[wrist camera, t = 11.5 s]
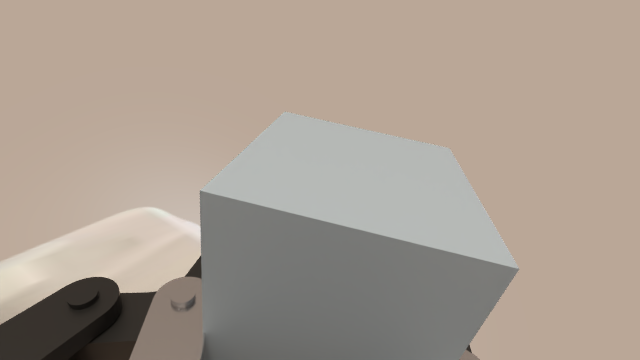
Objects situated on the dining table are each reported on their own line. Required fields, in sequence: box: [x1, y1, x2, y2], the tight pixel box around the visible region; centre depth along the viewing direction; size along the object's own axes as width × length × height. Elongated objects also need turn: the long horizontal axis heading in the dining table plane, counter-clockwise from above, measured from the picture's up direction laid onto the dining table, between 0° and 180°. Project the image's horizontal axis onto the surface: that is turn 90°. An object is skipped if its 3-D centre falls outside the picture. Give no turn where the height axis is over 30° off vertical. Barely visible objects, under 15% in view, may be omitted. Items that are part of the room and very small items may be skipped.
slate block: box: [200, 112, 519, 360], centre depth 9 cm, size 5×5×11 cm
